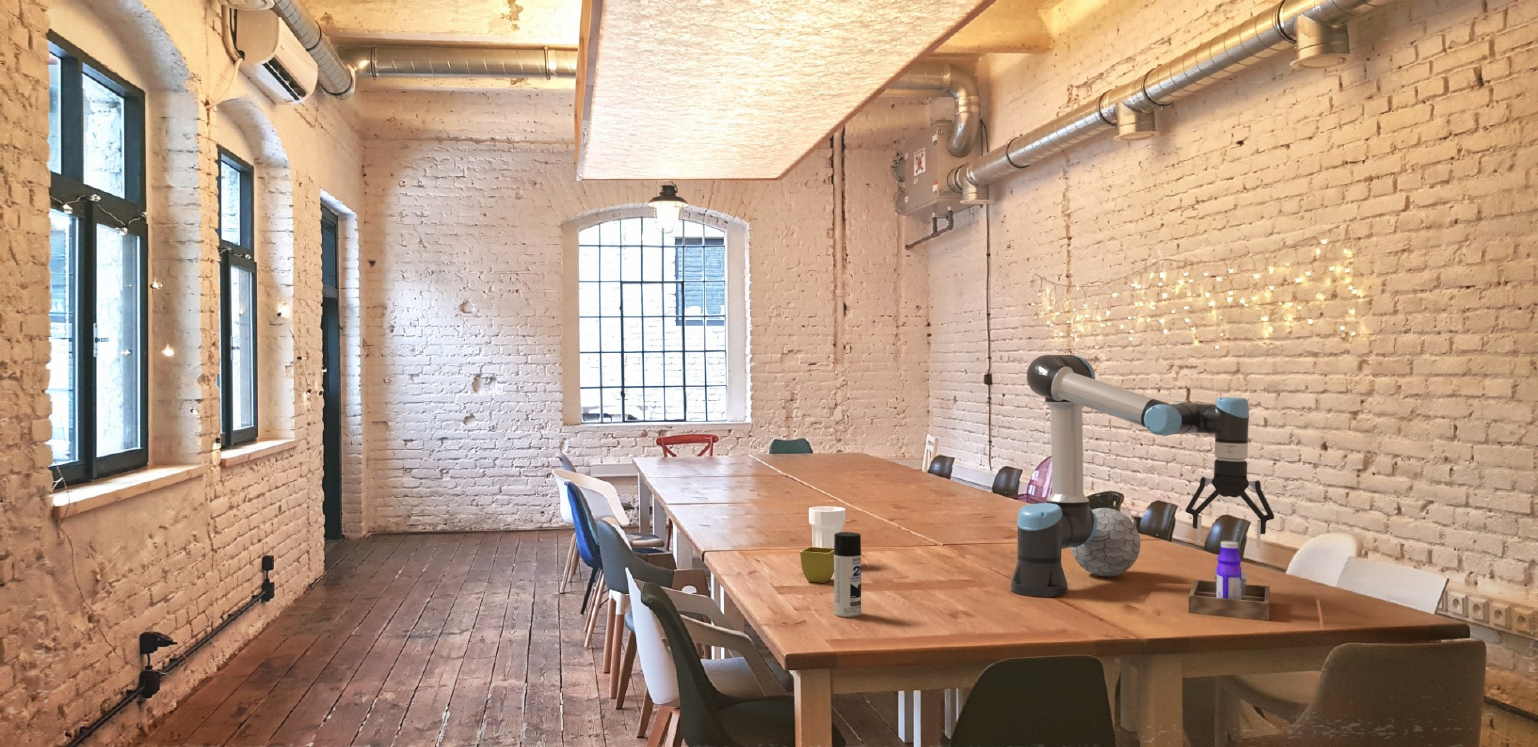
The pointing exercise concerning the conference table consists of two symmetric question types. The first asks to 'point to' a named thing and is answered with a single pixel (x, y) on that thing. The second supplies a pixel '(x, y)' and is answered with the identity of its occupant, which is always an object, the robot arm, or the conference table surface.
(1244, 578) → the block
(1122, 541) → the decorative sphere
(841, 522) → the cup
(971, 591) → the conference table surface
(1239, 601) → the crate
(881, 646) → the conference table surface
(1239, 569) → the bottle
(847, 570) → the spray can
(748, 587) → the conference table surface
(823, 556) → the flower pot
